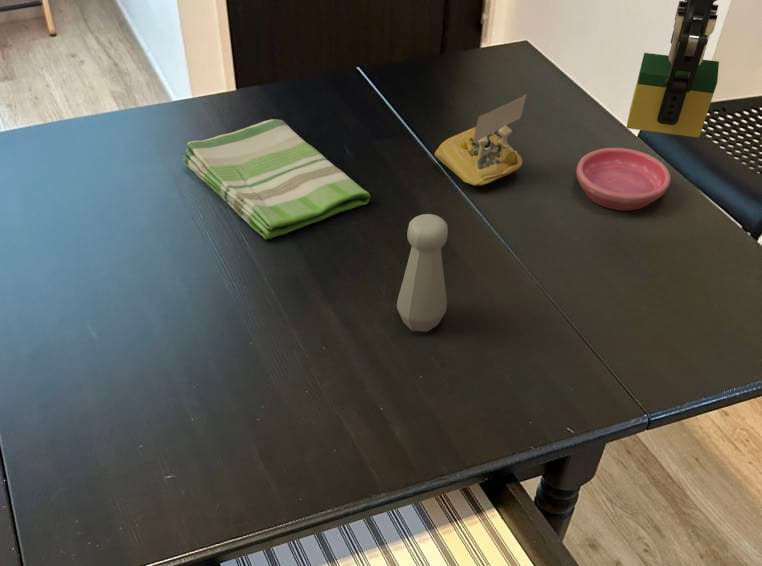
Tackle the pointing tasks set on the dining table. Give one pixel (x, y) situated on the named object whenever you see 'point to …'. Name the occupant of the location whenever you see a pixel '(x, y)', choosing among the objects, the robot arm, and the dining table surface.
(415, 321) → the salt shaker
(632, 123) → the sponge
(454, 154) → the yellow base with figure
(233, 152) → the dish towel
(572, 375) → the dining table surface
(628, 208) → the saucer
